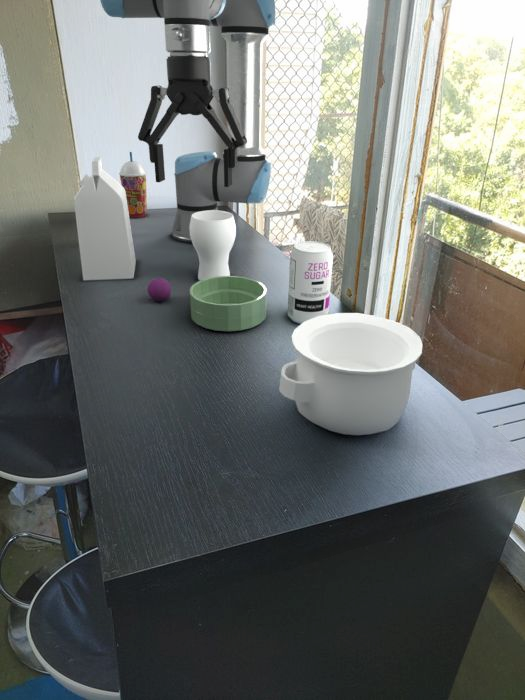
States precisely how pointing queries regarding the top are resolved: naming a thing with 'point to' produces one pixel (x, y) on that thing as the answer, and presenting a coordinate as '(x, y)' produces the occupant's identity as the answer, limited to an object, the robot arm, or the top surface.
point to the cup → (212, 241)
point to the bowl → (228, 303)
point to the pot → (351, 371)
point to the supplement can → (309, 280)
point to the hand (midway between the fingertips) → (194, 183)
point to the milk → (104, 227)
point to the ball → (159, 289)
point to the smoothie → (134, 188)
